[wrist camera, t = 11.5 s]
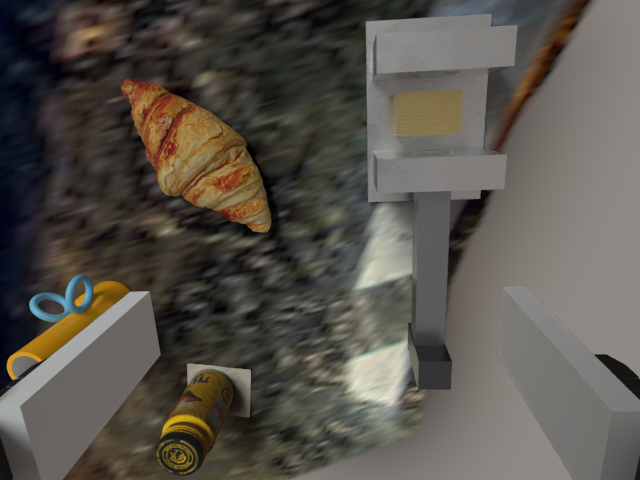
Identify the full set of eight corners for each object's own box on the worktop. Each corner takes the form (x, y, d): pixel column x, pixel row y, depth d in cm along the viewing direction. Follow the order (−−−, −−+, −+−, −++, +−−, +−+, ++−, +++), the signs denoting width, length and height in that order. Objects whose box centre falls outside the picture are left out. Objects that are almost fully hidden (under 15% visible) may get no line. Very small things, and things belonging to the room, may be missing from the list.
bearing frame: (365, 23, 42) (369, -1, 33) (488, 15, 41) (527, -12, 32) (367, 200, 47) (372, 220, 38) (477, 196, 46) (508, 216, 37)
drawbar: (410, 153, 44) (423, 161, 36) (442, 151, 43) (462, 159, 36) (407, 347, 50) (418, 389, 42) (435, 347, 50) (450, 389, 42)
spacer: (392, 134, 44) (392, 94, 43) (451, 132, 44) (452, 91, 43) (396, 136, 40) (397, 92, 39) (460, 134, 40) (463, 89, 39)
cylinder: (176, 298, 53) (110, 367, 38) (137, 356, 55) (63, 440, 41) (90, 242, 51) (-11, 292, 37) (55, 304, 54) (-52, 373, 40)
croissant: (292, 203, 52) (310, 194, 44) (234, 262, 49) (242, 263, 42) (162, 68, 48) (157, 33, 40) (92, 126, 46) (72, 99, 38)
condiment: (187, 362, 55) (144, 427, 44) (251, 369, 55) (225, 436, 43) (188, 409, 57) (148, 483, 46) (250, 415, 57) (225, 491, 45)
